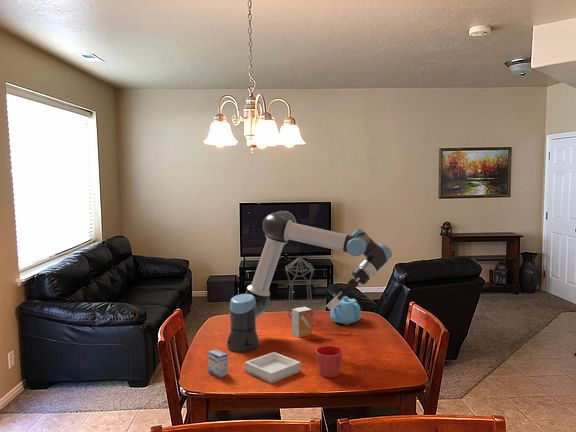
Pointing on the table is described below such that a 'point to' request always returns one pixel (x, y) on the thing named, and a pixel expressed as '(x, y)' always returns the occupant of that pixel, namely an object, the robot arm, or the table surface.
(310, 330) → the small box
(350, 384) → the table surface
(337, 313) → the decorative pot
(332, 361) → the flower pot
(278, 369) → the white square tray
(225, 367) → the medicine box
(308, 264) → the geometric lantern
